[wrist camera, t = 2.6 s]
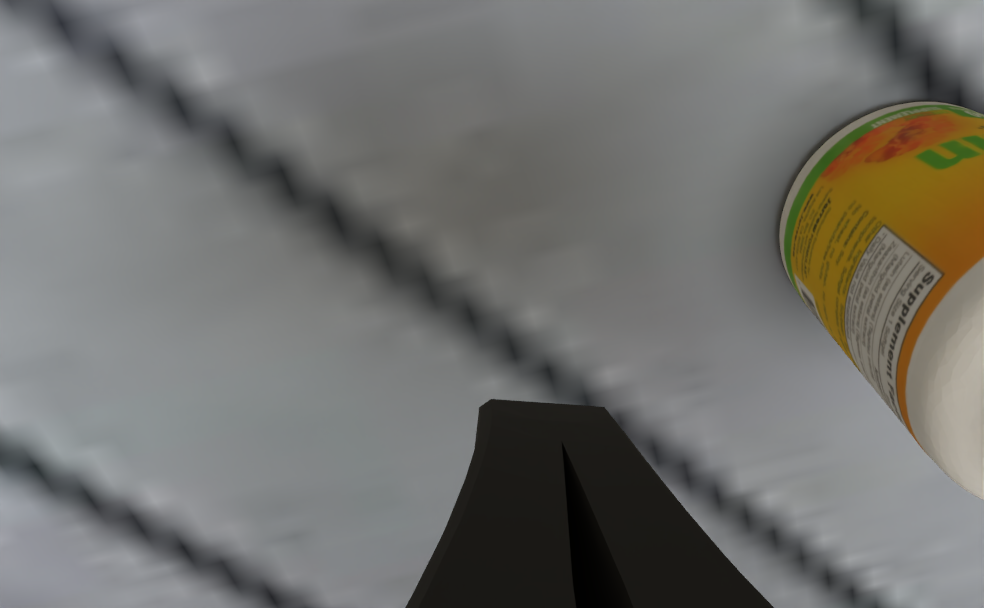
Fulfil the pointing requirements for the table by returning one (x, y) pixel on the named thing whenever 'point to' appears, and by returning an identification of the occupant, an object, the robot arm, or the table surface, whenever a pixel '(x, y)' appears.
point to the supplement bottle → (902, 267)
